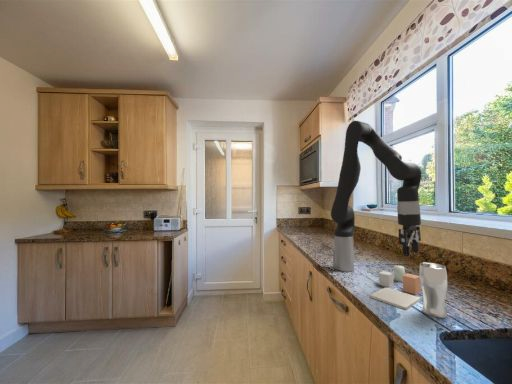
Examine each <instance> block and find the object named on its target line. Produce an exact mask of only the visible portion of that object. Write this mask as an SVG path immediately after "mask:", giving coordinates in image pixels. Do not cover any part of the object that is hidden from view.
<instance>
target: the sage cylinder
mask: <svg viewBox="0 0 512 384" xmlns="http://www.w3.org/2000/svg"><path fill="white" fill-rule="evenodd" d="M405 274H406V271H405V266H403V265H393V279H394V281H396V282H398V283H403V275H405Z"/></svg>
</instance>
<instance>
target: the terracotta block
mask: <svg viewBox="0 0 512 384" xmlns="http://www.w3.org/2000/svg"><path fill="white" fill-rule="evenodd" d="M402 292H404V293H408V294H411V295H414V296H416V295H418V294H420V293H421V292H422V289H421V284H420V275H417V274H411V273H408V272H407V273H405V275H403V282H402Z"/></svg>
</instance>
